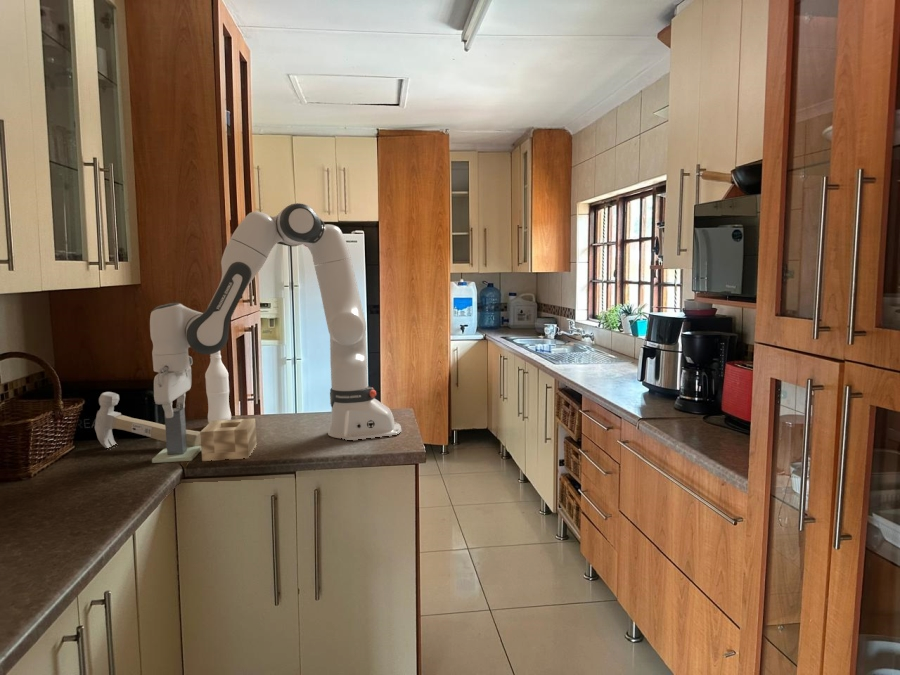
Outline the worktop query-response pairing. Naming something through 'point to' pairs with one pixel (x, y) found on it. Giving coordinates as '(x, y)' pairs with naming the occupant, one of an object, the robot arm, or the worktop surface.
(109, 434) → the hammer
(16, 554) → the worktop surface
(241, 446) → the socket block
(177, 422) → the peg
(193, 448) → the pad
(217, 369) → the water bottle
